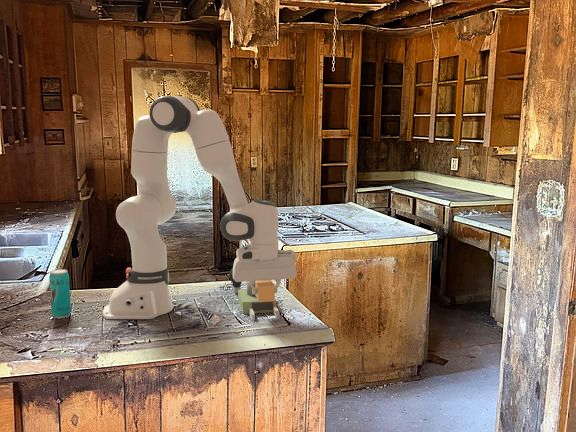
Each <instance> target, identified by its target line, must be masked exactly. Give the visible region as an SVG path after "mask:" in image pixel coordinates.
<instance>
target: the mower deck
mask: <svg viewBox="0 0 576 432" xmlns="http://www.w3.org/2000/svg"><path fill="white" fill-rule="evenodd" d="M252 285H253V286H254V288H256V287H255V281H254V284H252ZM237 302H238V305H239V304H240V305H239V307H240V310H241V313H242V314H243V315H249V318H250V319H251V321H252V322H253V321H255V320H256V317H255V316H256V315H255V314H264V313H273V314H274V316H275V319H277V320H279V319H280V314H281V313H280V311H279V309H278V307H277V300H276V298H275V301H267V302H259V301H258V299H257V297H256V294H252V288H251V286H250V284H249V281H246V288H245V289H243V288H240V290H238V294H237Z"/></svg>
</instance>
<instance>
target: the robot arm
mask: <svg viewBox="0 0 576 432" xmlns="http://www.w3.org/2000/svg"><path fill="white" fill-rule="evenodd" d="M148 112H149V114H148V115H143V116H141V117H138V119H137V120H136V122H135V125H134V129H133V133H132V134H133V135H132V141H131V143H132V144H131V163H130V164H131V168H130V174H131V176H132V178H134V180H135V182H136V183H137V189H138V195H133V196H130V197H129V198H127V199H125V200H124V201H122V202H120V203H119V204H118V206H117V207H116V210H115V211H116V212H115V219H116V221H117V224H118V225H119V226H120V228H122V229H123V230H124V231H125V233H126V235H127V238H128V241H129V244H130V250H131V262H132V263H131V266H132V268H131V267H127V268H126V269H125V276H126V277H125V278H126V279H125V281H124V282H123V283H122V284H121V285H120V286H118V287H116V288H115V289H114V290H113V292H112V293H111V296H110V298H109V303H108V304H107V305H105V307H104V308H103V309H102V317H103V318H104V319H106V320H152V319H153V320H154V319H156V318H157V317H158V316H163V315H165V314H168V313H170V312H172V311H173V309H174V305H173V302H172V299H171V294H170V289H169V288H170V287H169V283H170V271H169V267H168V266H167V264H168V262H167V259H168V257H167V245H166V243H165V242H164V240H162V238H161V236H160V233H159V232H160V231H159V229H158V228H159V227H158V226H159V225H161V224H164V223H166V222H167V221H169V220H170V219H172V218H173V216H174V215H175V214H176V211H177V204H176V200H175V198H174V197H173V195H172V193H171V189H170V185H169V181H168V151H169V147H168V146H169V139H170V138H171V137H170V136H171V135H172V134H177V133H186V134H188V136H189V137H190V138H191V141H192V145H193V147H194V150H195V154H196V156H197V160H198V161H199V164H200V166H201V167H202V169H203V171H204V172H206V173H207V174H210V175H211V176H213V177H214V178H215V179H216V180H217V181H218V182H219V183H220V185H221V187H222V189H223V192H224V195H225V197H226V201H227V202H228V205H229V211H228V212H227V213H225V214H224V215H223V216H222V217H221V220H220V222H219V229H220V232H221V235H222V236H223V237H224V238H225V239H226V240H228V241H232V242H239V241H245V240H250V242H249V243H250V244H248V245H245V246H242V247H239V248H238V249H236V254H235V255H236V258H235V259H234V261H233V266H232V268H233V279H234V280H235V281H236V282H242V283H243V282H247V281H249V284H250V286H251V288H252V294H257V287H256V288H254V286H253V285H252V284H254V281H262V280H271V281H275V282H276V283H275V284H274V294H277V293H278V288H279V287H280V285H281V283H282V280H292V279H295V278H296V277H297V268H296V267H297V266H296V262H297V258H298V257H297V256H298V255H297V252H296V251H294V250H292V249H279V237H278V232H279V214H278V208H277V205H276V204H275V203H274V202H273V201H270V200H267V199H263V198H262V199H259V198H258V199H253V200H252V201H251V202H250V200H249V199H248V196H247V194H246V191H245V188H244V186H243V183H242V180H241V177H240V174H239V172H238V169H237V164H236V159H235V156H234V152H233V148H232V144H231V140H230V138H229V134H228V132H227V129H226V127H225V125H224V123H223V121H222V119H221V117H220V115H219V114H218V113H217V111H215V110H213V109H200V106H199V104H198V103H197V102H196V101H194V100H193V99H192V98H190V97H187V96H182V95H164V96H160V97H158V98H156V99H155V100H154V101H153V102H152V103H151V105H150V109H149V111H148Z"/></svg>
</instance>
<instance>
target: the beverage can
mask: <svg viewBox="0 0 576 432" xmlns="http://www.w3.org/2000/svg"><path fill="white" fill-rule="evenodd" d="M48 279H49V293H50V306H51V307H50V308H51V315H52V316H53V318H54V319H56V318H57V319H58V320H59V319H60V320H61V318H62V319H66V318H68V317H70V315H71V312H72V307H71V306H72V305H71V304H72V303H71V290H70V276H69V272H68V270H67V269H65V268H64V269H62V268H61V269H60V268H57V269H54V270H51V271H49V277H48ZM65 317H66V318H65ZM57 319H56V320H57Z"/></svg>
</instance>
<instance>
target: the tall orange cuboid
mask: <svg viewBox="0 0 576 432" xmlns="http://www.w3.org/2000/svg"><path fill="white" fill-rule="evenodd" d="M274 286H275V284H274V282H273V280H262V281H255V287H257V294H256V297H257V299H258V301H259V302H267V301H275V299H276V298H275V293H274Z"/></svg>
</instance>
